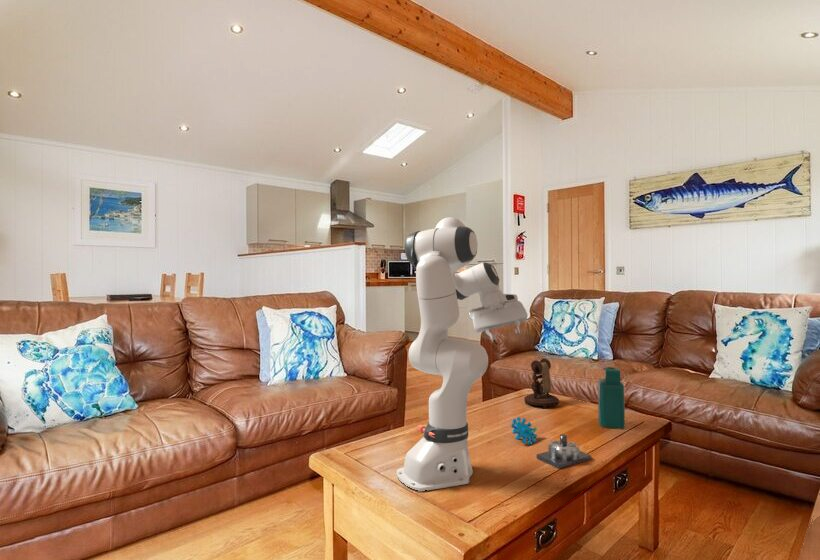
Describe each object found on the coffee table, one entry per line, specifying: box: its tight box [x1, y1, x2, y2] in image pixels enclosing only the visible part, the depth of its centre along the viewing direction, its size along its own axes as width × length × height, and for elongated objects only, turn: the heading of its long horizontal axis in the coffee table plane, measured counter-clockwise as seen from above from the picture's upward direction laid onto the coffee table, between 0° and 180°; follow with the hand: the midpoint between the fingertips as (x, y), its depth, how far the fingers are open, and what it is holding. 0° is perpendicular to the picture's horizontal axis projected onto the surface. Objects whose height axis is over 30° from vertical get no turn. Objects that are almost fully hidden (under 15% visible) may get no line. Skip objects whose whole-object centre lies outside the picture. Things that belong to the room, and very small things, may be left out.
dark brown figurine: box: [523, 358, 560, 410], centre depth 196 cm, size 15×15×20 cm
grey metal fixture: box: [536, 434, 592, 470], centre depth 138 cm, size 14×9×7 cm, turn 118°
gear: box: [510, 416, 538, 446], centre depth 154 cm, size 11×6×10 cm
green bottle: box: [597, 366, 626, 429], centre depth 167 cm, size 10×8×22 cm
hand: (505, 336), depth 161 cm, fingers open, 8 cm apart
